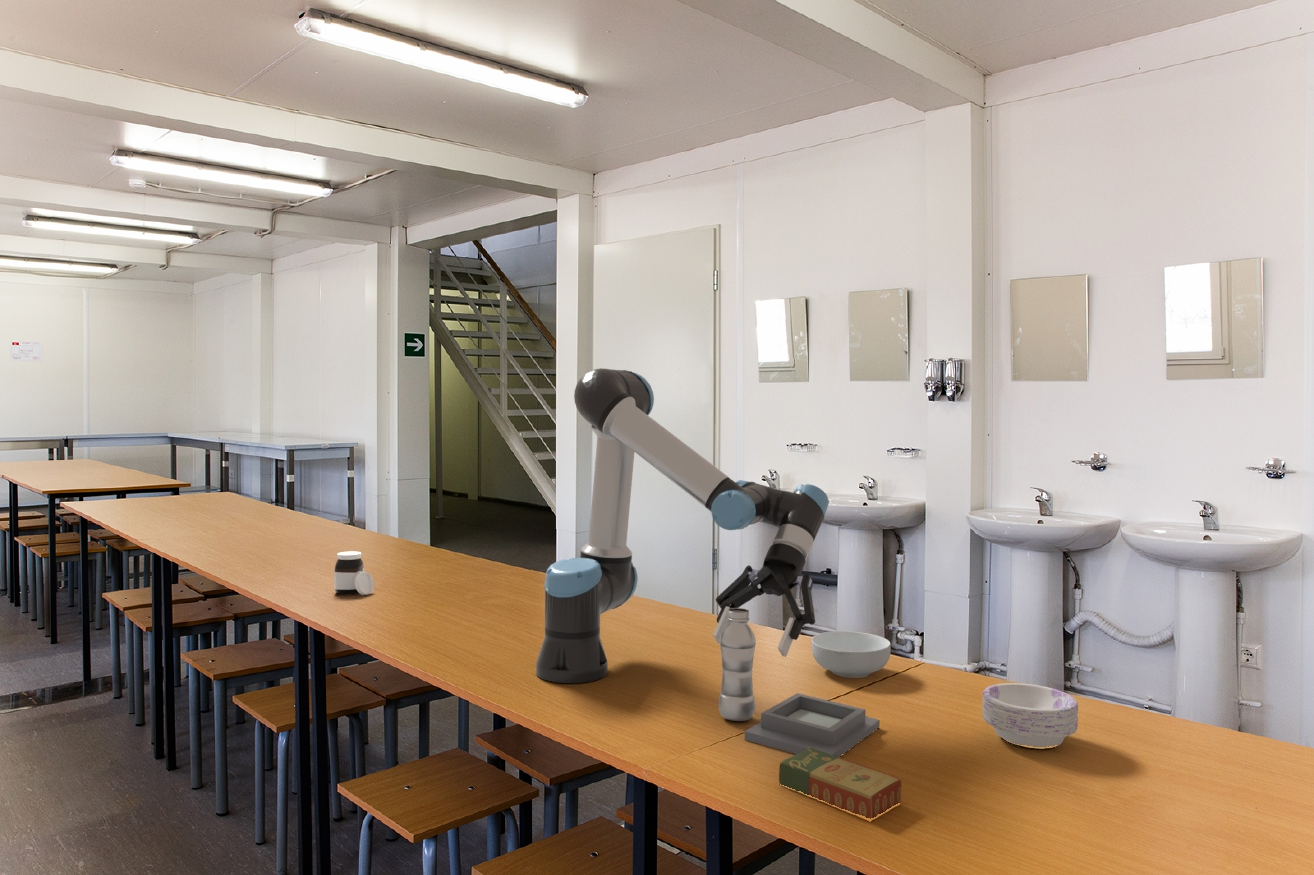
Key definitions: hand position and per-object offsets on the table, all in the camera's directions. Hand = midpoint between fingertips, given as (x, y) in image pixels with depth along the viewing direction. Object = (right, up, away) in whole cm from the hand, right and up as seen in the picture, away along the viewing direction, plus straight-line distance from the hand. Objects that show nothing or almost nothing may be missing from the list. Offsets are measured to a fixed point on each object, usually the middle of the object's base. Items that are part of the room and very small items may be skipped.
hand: (748, 646), depth 157 cm
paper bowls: (+48, -15, -8) cm, 51 cm away
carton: (+10, -15, -30) cm, 35 cm away
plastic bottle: (-2, -13, 0) cm, 14 cm away
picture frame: (+11, -14, -7) cm, 19 cm away
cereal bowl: (+25, -13, +29) cm, 40 cm away
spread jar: (-106, -8, +97) cm, 144 cm away
